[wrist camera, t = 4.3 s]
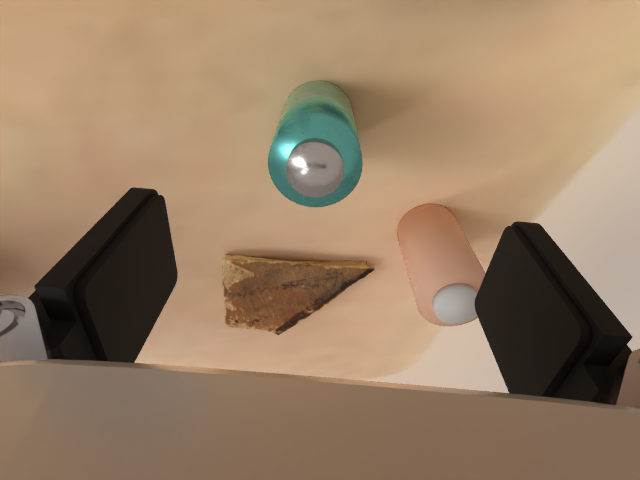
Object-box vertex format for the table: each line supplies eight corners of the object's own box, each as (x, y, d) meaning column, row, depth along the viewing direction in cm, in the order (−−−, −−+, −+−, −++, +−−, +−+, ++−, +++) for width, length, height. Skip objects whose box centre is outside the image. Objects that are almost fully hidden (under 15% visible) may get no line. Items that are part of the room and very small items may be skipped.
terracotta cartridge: (447, 255, 27) (483, 336, 21) (392, 251, 27) (412, 331, 21) (463, 206, 25) (509, 281, 19) (403, 201, 25) (429, 275, 19)
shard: (372, 256, 28) (375, 271, 27) (358, 328, 32) (359, 345, 31) (225, 245, 28) (219, 260, 26) (230, 319, 32) (225, 336, 30)
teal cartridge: (348, 153, 23) (356, 216, 17) (282, 147, 23) (266, 210, 17) (357, 83, 21) (370, 127, 15) (284, 77, 21) (266, 118, 14)
